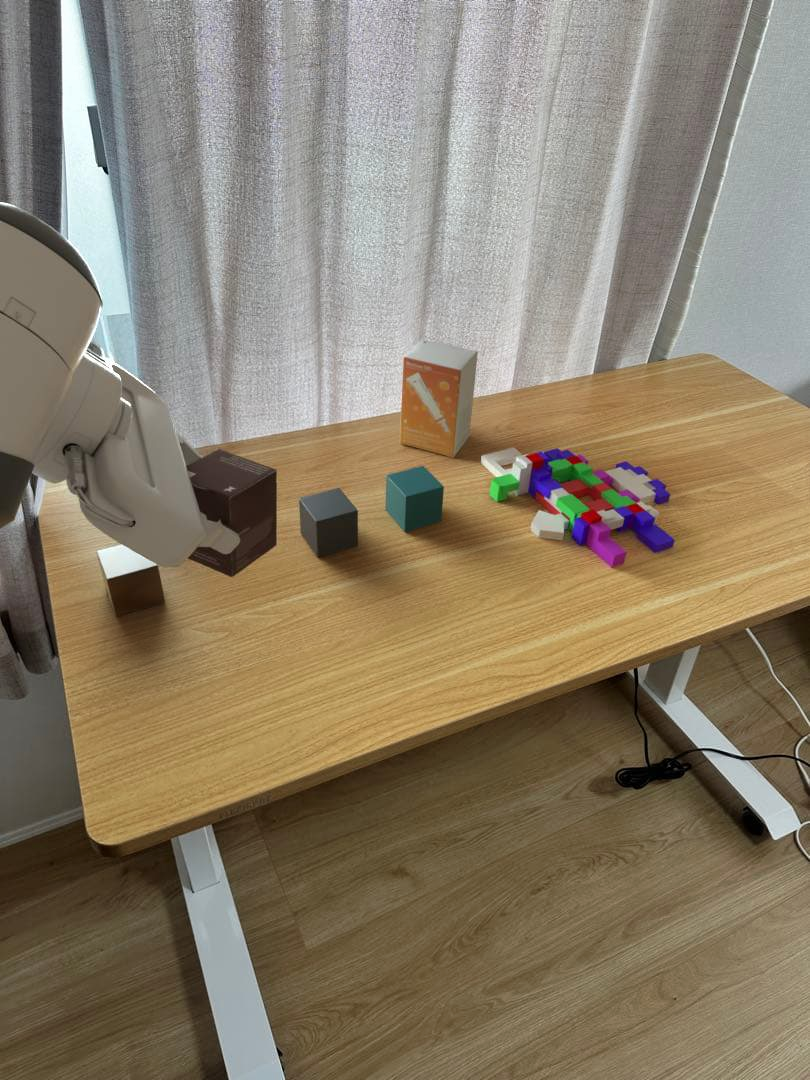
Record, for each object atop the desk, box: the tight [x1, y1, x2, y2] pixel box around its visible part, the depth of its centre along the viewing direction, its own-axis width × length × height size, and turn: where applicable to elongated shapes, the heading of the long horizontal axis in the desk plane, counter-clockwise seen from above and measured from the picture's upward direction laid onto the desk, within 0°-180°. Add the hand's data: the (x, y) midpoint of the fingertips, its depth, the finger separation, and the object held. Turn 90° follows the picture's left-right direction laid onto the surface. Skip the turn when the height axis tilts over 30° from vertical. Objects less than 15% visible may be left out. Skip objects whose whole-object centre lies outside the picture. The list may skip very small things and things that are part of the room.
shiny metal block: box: [95, 543, 166, 618], centre depth 82 cm, size 5×5×5 cm
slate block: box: [298, 487, 359, 558], centre depth 91 cm, size 5×5×5 cm
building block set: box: [480, 446, 676, 568], centre depth 99 cm, size 25×20×4 cm
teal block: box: [385, 465, 445, 533], centre depth 95 cm, size 5×5×5 cm
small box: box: [399, 339, 479, 459], centre depth 107 cm, size 8×6×13 cm
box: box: [186, 448, 278, 578], centre depth 64 cm, size 6×6×7 cm
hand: (221, 507), depth 64 cm, fingers closed on box, 8 cm apart
